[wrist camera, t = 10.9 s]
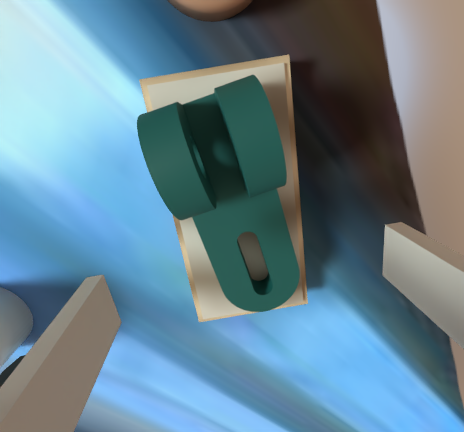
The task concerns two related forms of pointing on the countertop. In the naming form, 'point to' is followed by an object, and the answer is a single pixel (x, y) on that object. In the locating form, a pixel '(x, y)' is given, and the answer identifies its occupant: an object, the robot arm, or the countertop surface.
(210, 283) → the tray
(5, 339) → the mug
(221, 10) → the peach flattened dome
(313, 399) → the countertop surface
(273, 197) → the bracket
